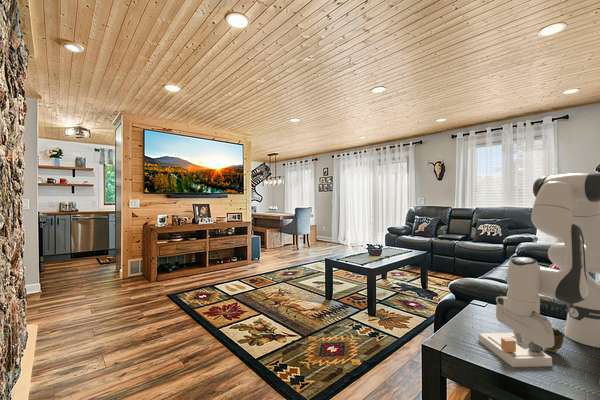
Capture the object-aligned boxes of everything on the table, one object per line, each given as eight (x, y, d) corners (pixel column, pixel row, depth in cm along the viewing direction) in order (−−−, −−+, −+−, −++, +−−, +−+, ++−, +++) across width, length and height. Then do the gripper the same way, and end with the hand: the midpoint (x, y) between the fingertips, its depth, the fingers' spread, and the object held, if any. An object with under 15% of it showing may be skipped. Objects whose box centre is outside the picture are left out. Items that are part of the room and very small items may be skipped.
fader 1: (510, 348, 104) (510, 337, 104) (515, 351, 101) (515, 340, 101) (501, 348, 104) (501, 337, 104) (506, 352, 101) (506, 340, 101)
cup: (563, 350, 108) (563, 330, 108) (564, 359, 102) (564, 337, 102) (538, 344, 113) (538, 324, 113) (537, 351, 107) (537, 331, 107)
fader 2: (537, 347, 104) (537, 336, 104) (543, 351, 102) (543, 340, 101) (527, 348, 104) (527, 336, 104) (533, 351, 101) (533, 340, 101)
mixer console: (511, 339, 116) (511, 332, 116) (552, 366, 98) (552, 357, 98) (478, 340, 116) (478, 333, 116) (512, 367, 98) (512, 358, 98)
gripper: (561, 319, 85) (560, 364, 85) (509, 295, 106) (508, 332, 106) (540, 319, 85) (540, 365, 85) (492, 295, 106) (492, 332, 106)
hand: (522, 346), depth 96 cm, fingers closed
